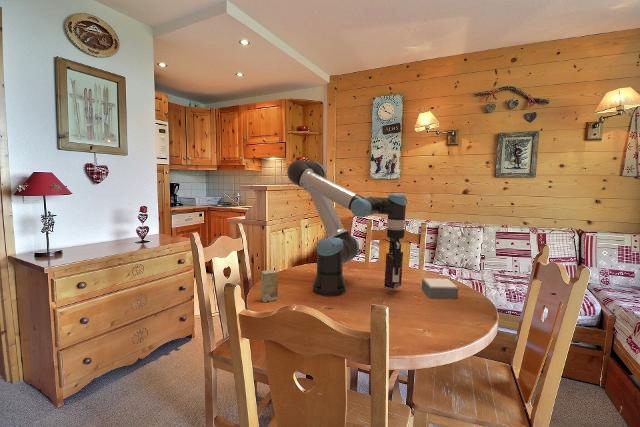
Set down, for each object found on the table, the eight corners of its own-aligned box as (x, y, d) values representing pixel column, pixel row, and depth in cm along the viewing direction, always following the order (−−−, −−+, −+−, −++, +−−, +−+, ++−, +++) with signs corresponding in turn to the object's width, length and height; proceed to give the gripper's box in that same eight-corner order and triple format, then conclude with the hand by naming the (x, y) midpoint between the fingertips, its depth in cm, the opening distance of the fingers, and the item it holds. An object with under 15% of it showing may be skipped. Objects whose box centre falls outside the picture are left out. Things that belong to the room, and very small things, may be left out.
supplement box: (393, 290, 141) (395, 255, 139) (383, 288, 144) (385, 253, 142) (402, 285, 147) (403, 251, 146) (392, 283, 150) (393, 249, 149)
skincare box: (263, 302, 132) (263, 273, 131) (260, 299, 136) (260, 271, 135) (278, 300, 135) (278, 271, 134) (275, 296, 139) (274, 269, 138)
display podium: (429, 297, 139) (429, 286, 138) (421, 288, 151) (422, 278, 150) (457, 298, 138) (458, 287, 138) (447, 289, 150) (448, 278, 150)
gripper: (410, 233, 131) (407, 286, 134) (399, 225, 153) (397, 271, 156) (391, 232, 132) (389, 286, 134) (383, 224, 154) (381, 270, 156)
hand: (393, 278), depth 145 cm, fingers closed on supplement box, 9 cm apart
